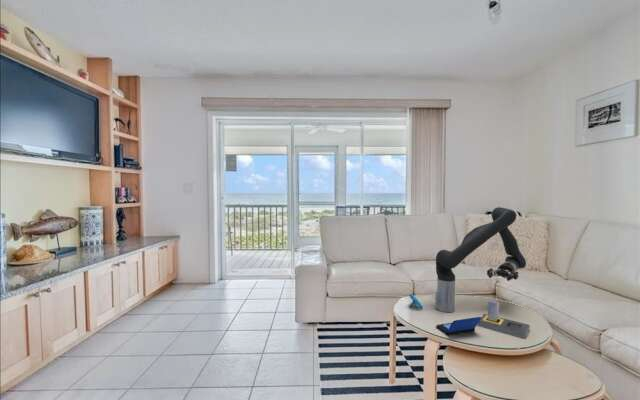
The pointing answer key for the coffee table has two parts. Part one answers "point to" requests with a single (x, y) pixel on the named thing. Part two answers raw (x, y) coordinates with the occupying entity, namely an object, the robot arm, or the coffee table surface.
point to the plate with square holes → (505, 326)
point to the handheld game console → (459, 326)
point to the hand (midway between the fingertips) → (498, 277)
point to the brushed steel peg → (493, 311)
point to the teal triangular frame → (415, 302)
